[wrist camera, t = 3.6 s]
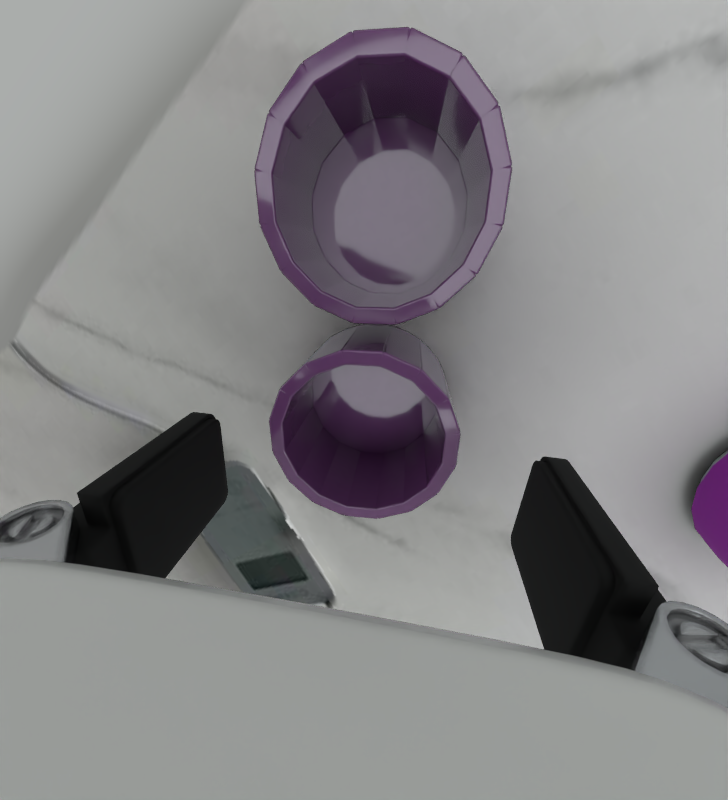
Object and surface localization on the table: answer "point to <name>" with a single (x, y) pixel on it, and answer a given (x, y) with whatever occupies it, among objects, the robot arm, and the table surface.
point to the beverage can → (713, 507)
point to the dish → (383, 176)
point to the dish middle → (367, 424)
